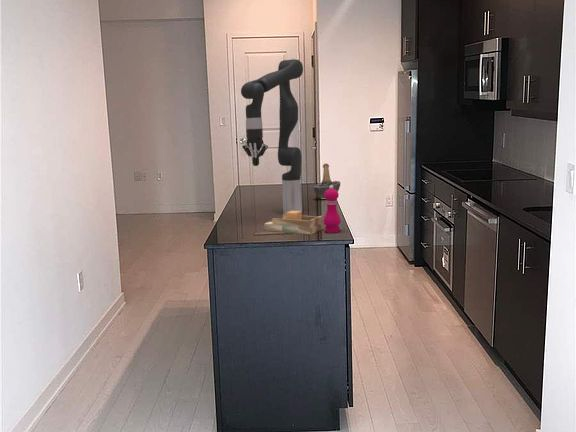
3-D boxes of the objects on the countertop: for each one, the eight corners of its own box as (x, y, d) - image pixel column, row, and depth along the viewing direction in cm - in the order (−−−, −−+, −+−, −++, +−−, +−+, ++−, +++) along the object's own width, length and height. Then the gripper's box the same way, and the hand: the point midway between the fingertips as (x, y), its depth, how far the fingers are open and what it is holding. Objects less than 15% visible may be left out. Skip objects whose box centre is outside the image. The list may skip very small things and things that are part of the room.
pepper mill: (326, 229, 269) (325, 184, 265) (342, 229, 267) (341, 184, 263) (322, 232, 262) (321, 186, 258) (338, 233, 260) (337, 186, 256)
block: (292, 221, 272) (291, 210, 271) (302, 222, 270) (301, 211, 269) (286, 223, 268) (286, 212, 267) (296, 224, 266) (296, 213, 265)
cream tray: (277, 225, 280) (276, 212, 279) (322, 229, 269) (322, 215, 268) (264, 230, 271) (264, 216, 270) (311, 234, 260) (311, 220, 259)
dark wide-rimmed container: (340, 196, 356) (340, 161, 352) (340, 201, 340) (339, 165, 336) (315, 196, 357) (314, 162, 354) (313, 201, 341) (312, 165, 337)
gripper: (270, 127, 278) (272, 165, 282) (246, 127, 285) (248, 164, 288) (262, 128, 272) (263, 167, 275) (237, 128, 278) (239, 166, 282)
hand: (255, 165), depth 282 cm, fingers closed
